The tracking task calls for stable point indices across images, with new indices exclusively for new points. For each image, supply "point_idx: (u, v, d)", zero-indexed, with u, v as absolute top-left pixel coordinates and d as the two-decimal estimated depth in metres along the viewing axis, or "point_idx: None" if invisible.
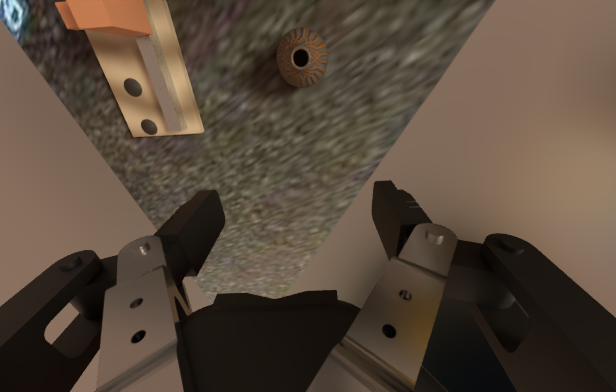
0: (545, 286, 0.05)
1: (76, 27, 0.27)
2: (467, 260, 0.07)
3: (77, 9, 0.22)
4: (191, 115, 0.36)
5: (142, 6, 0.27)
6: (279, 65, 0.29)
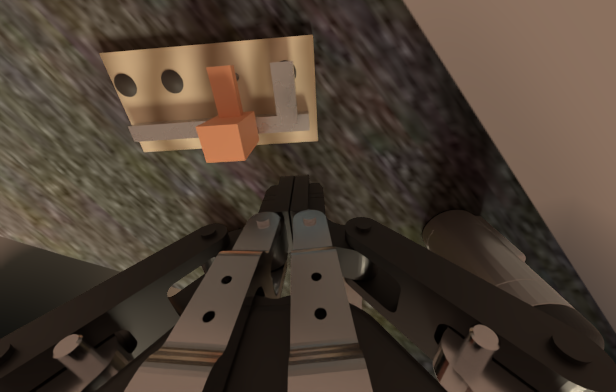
0: (394, 250, 0.06)
1: (210, 79, 0.23)
2: (332, 239, 0.08)
3: (213, 133, 0.21)
4: (161, 145, 0.32)
5: None
6: None
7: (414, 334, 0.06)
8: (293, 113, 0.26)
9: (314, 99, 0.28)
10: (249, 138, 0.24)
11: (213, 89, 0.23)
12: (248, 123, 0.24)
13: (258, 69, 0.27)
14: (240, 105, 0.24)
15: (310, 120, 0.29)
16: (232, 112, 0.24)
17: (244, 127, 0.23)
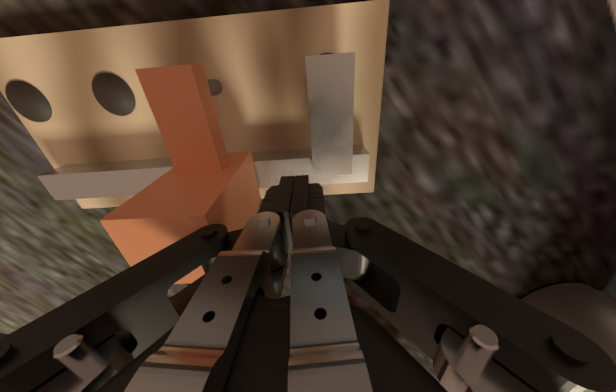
0: (394, 250, 0.06)
1: (148, 96, 0.10)
2: (332, 239, 0.08)
3: (147, 233, 0.09)
4: (109, 199, 0.19)
5: None
6: None
7: (414, 334, 0.06)
8: (345, 156, 0.13)
9: (376, 125, 0.15)
10: (241, 215, 0.12)
11: (159, 117, 0.10)
12: (238, 186, 0.12)
13: (275, 71, 0.14)
14: (221, 148, 0.12)
15: None
16: (204, 164, 0.11)
17: (227, 204, 0.10)
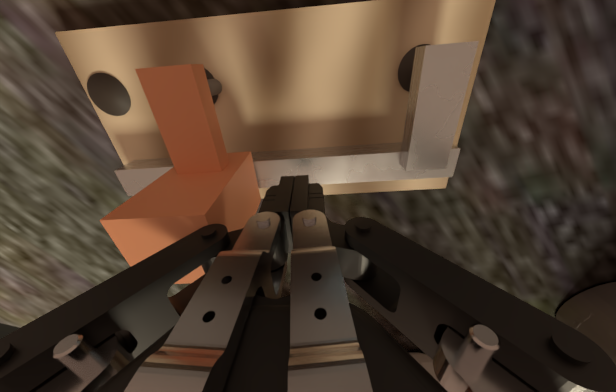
0: (394, 250, 0.06)
1: (148, 96, 0.10)
2: (332, 239, 0.08)
3: (147, 233, 0.09)
4: None
5: None
6: None
7: (414, 334, 0.06)
8: (443, 150, 0.13)
9: (461, 119, 0.15)
10: (241, 215, 0.12)
11: (159, 117, 0.10)
12: (238, 186, 0.12)
13: (367, 63, 0.14)
14: (221, 148, 0.12)
15: None
16: (204, 164, 0.11)
17: (227, 204, 0.10)
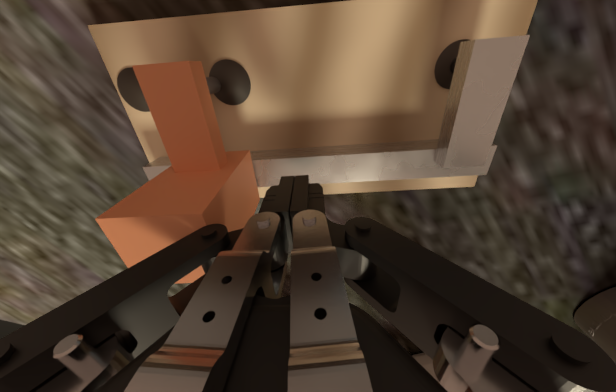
0: (394, 250, 0.06)
1: (145, 93, 0.10)
2: (332, 239, 0.08)
3: (144, 232, 0.08)
4: None
5: None
6: None
7: (414, 334, 0.06)
8: (483, 147, 0.13)
9: None
10: (239, 214, 0.12)
11: (156, 114, 0.10)
12: (236, 185, 0.11)
13: (404, 58, 0.13)
14: (219, 146, 0.12)
15: None
16: (202, 162, 0.11)
17: (225, 202, 0.10)
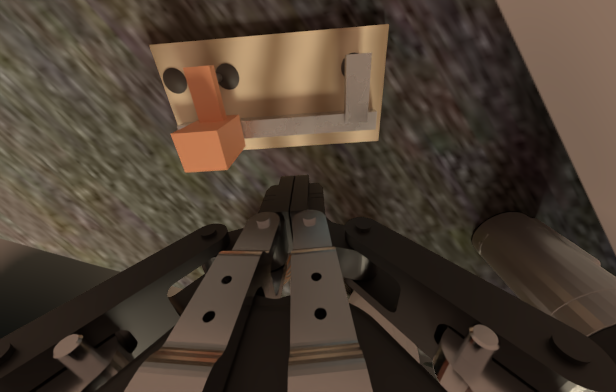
0: (394, 250, 0.06)
1: (187, 81, 0.21)
2: (332, 239, 0.08)
3: (191, 140, 0.19)
4: None
5: None
6: None
7: (414, 334, 0.06)
8: (364, 111, 0.24)
9: (380, 95, 0.26)
10: (233, 144, 0.23)
11: (192, 91, 0.21)
12: (231, 128, 0.22)
13: (323, 62, 0.24)
14: (222, 109, 0.22)
15: None
16: (213, 116, 0.22)
17: (226, 133, 0.21)
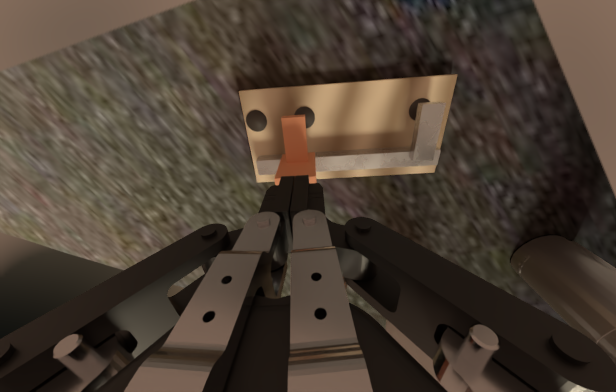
0: (394, 250, 0.06)
1: (283, 128, 0.23)
2: (332, 239, 0.08)
3: None
4: None
5: None
6: None
7: (414, 334, 0.06)
8: (431, 151, 0.26)
9: (441, 134, 0.28)
10: None
11: (285, 137, 0.24)
12: (315, 168, 0.25)
13: (393, 106, 0.27)
14: (307, 150, 0.25)
15: None
16: (300, 158, 0.25)
17: None
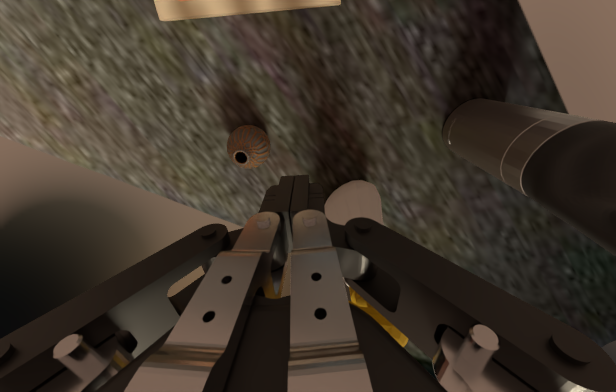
0: (394, 250, 0.06)
1: None
2: (332, 239, 0.08)
3: None
4: (178, 11, 0.30)
5: None
6: (238, 133, 0.34)
7: (414, 334, 0.06)
8: None
9: None
10: None
11: None
12: None
13: None
14: None
15: None
16: None
17: None
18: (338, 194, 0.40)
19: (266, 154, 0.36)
